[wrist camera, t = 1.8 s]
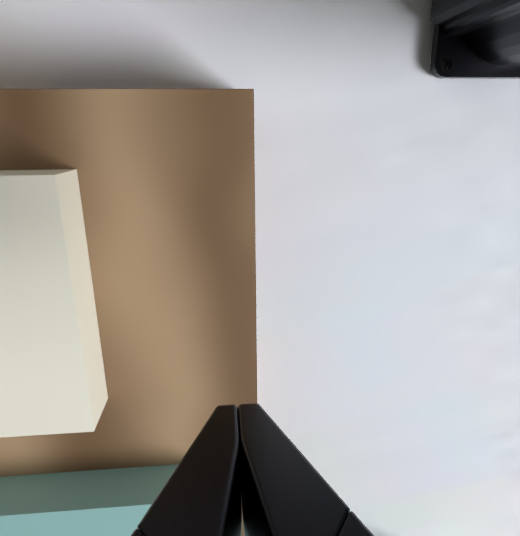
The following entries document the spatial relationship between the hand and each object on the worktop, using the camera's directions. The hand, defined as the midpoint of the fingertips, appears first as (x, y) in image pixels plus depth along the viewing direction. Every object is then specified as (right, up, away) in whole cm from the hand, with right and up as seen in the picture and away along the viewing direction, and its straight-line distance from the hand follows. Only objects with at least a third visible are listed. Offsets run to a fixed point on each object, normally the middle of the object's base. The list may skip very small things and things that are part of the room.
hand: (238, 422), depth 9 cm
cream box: (-9, +2, +7) cm, 11 cm away
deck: (-7, 0, +12) cm, 14 cm away
